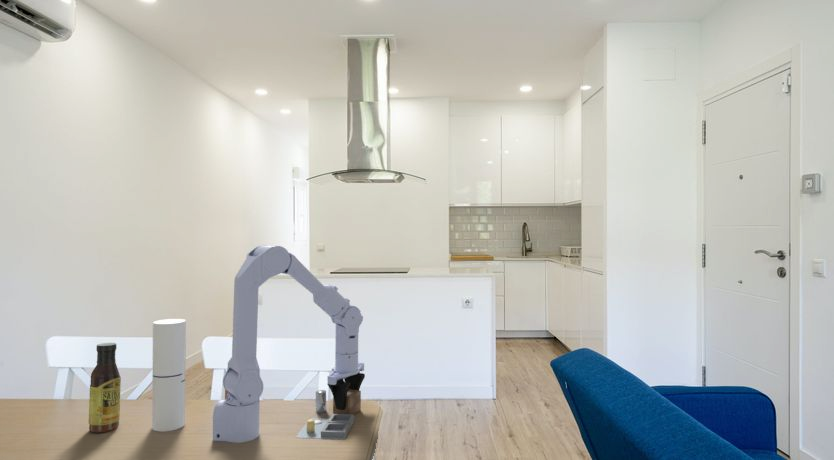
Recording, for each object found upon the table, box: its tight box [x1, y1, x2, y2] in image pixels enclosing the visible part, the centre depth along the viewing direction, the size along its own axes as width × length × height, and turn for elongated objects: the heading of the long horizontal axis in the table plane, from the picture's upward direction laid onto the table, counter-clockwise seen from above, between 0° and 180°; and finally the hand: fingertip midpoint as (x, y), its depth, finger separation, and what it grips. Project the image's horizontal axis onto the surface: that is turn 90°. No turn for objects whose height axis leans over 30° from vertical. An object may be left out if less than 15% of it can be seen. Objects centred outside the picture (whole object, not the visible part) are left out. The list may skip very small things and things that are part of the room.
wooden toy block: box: [332, 389, 362, 416], centre depth 132 cm, size 5×5×5 cm
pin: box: [315, 389, 327, 414], centre depth 132 cm, size 3×3×6 cm
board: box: [295, 413, 355, 440], centre depth 121 cm, size 11×12×4 cm
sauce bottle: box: [88, 342, 122, 434], centre depth 123 cm, size 6×6×20 cm
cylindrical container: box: [151, 318, 187, 432], centre depth 125 cm, size 7×7×25 cm
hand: (346, 405), depth 132 cm, fingers closed on wooden toy block, 5 cm apart
